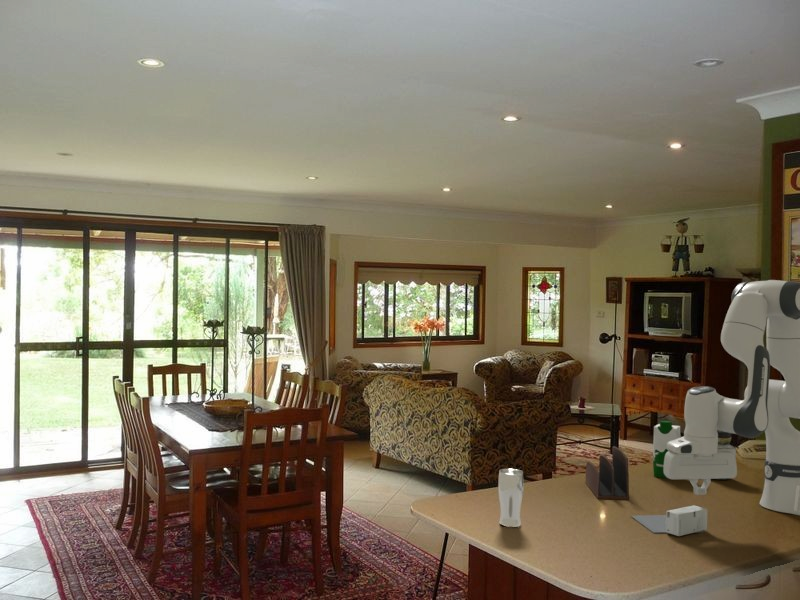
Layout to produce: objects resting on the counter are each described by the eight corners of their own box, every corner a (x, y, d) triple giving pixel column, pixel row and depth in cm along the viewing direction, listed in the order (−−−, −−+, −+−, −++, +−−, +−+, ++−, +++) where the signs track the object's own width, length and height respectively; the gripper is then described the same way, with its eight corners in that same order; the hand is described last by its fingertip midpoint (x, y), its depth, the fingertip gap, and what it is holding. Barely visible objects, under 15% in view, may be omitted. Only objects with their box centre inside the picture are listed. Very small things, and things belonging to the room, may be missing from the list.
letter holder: (614, 484, 254) (615, 443, 253) (629, 500, 234) (630, 456, 234) (585, 483, 254) (585, 442, 254) (597, 499, 234) (598, 455, 234)
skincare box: (707, 530, 204) (679, 538, 197) (693, 525, 208) (665, 533, 201) (707, 507, 204) (679, 515, 197) (693, 503, 207) (665, 510, 201)
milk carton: (650, 476, 264) (651, 421, 264) (656, 471, 272) (657, 417, 272) (676, 480, 260) (677, 423, 259) (681, 475, 267) (682, 420, 267)
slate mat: (679, 515, 218) (679, 514, 218) (705, 532, 203) (705, 531, 203) (630, 516, 216) (630, 515, 216) (653, 533, 201) (653, 532, 201)
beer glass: (503, 529, 202) (504, 475, 202) (493, 521, 209) (494, 469, 209) (526, 527, 204) (527, 473, 204) (516, 520, 211) (517, 467, 211)
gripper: (729, 442, 211) (729, 490, 212) (661, 443, 209) (660, 491, 209) (742, 446, 205) (741, 496, 205) (671, 447, 203) (670, 497, 203)
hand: (699, 494), depth 207 cm, fingers closed
